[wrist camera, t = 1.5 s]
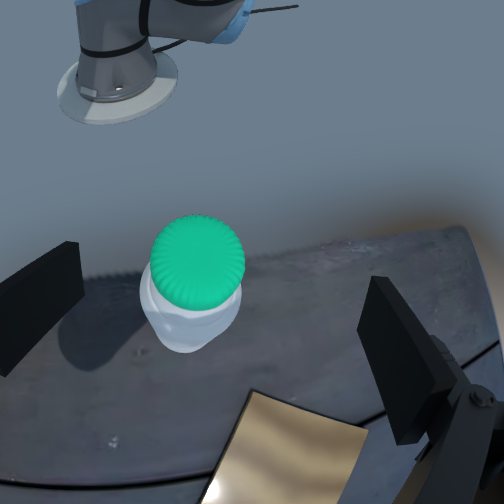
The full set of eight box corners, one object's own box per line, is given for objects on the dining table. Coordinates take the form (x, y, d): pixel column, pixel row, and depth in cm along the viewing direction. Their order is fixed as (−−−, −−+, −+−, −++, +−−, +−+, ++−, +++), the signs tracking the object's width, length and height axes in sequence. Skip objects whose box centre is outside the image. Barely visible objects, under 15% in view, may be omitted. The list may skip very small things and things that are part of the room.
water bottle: (161, 291, 38) (147, 175, 15) (216, 302, 39) (279, 206, 16) (149, 346, 35) (106, 310, 13) (207, 358, 36) (263, 343, 14)
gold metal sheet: (251, 390, 36) (253, 391, 35) (365, 429, 37) (369, 430, 36) (195, 508, 29) (196, 511, 28) (316, 533, 30) (319, 536, 29)
